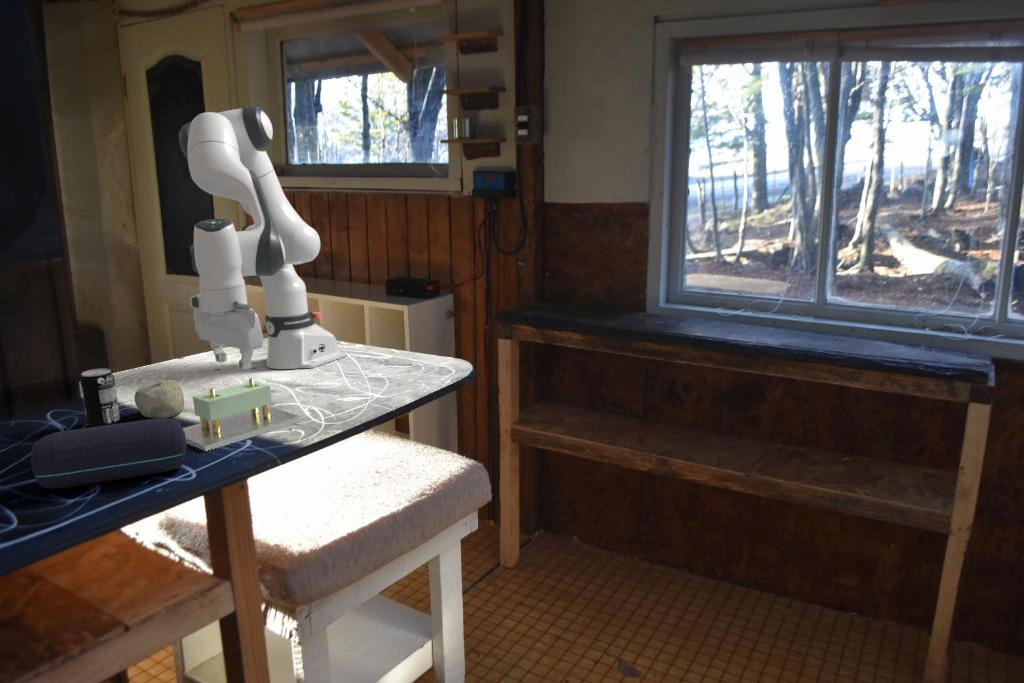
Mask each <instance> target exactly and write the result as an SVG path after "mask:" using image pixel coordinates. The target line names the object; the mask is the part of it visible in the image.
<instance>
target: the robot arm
mask: <svg viewBox="0 0 1024 683" xmlns="http://www.w3.org/2000/svg"><path fill="white" fill-rule="evenodd" d="M273 130H274V129H273V124H272V122H271V120H270V118H269V117H268V115H267V113H266V112H265V111H264V110H263V109H262V108H260V107H259V106H256V105H252V106H251V105H250V106H249V105H248V106H244V107H242V108H236V109H229V110H224V111H220V112H215V111H207V112H203V113H199V114H197V115H196V116H195V117H194V118H193V119H192V121H190V122H187V123H185V124H184V125H183V126H182V127H181V129H180V131H179V132H178V142H179V147H180V149H181V151H182V153H183V155H184V157H185V159H186V160H187V163H188V170H189V174H190V177H191V179H192V181H193V182H194V183H195V185H196V186H198V188H199V189H201V190H202V191H203V192H206V193H208V194H209V195H212V196H215V197H220V198H225V199H229V200H233V201H236V202H239V203H240V205H241V207H242V209H243V210H244V211H245V213H246V214H247V215H248V216H250V217H252V220H253V224H251V225H249V226H247V227H246V228H245V229H244V230H241V231H240V230H239V231H236V229H235V225H234V223H233V221H231V220H229V219H226V218H209V219H205V220H200V221H199V222H198V223H195V225H194V226H193V228H194V229H193V243H192V244H191V245H190V248H189V252H190V256H191V264H192V270H193V271H194V272H195V273H196V274H197V275H199V284H198V290H199V293H197V294H195V295H193V296H191V297H189V304H190V306H191V308H194V309H193V314H192V315H193V320H194V325H195V326H194V327H195V331H196V333H197V337H199V339H200V340H202V341H207V342H209V347H210V348H211V350H212V351H213V354H214V357H215V358H214V360H215V362H216V363H221V364H222V363H225V362H227V360H228V358H227V353H226V352H225V351H224V348H223V346H227V347H231V348H234V349H238V350H239V354H241V359H240V360H238V363H239V368H240V369H242V370H248V369H251V368H252V356H253V354H254V351H255V350H258V349H262V348H263V345H264V335H263V332H262V327H261V323H260V322H261V321H260V319H259V316H258V314H257V313H256V312H255V310H253V308H252V307H251V305H250V304H248V295H247V290H246V288H247V287H246V282H245V279H244V277H251V276H257V277H259V279H260V282H261V286H262V290H263V296H264V303H265V304H264V305H265V312H266V315H265V317H264V318H265V326H266V327H265V328H266V329H265V330H266V333H267V337H268V338H267V340H268V342H267V357H266V358H267V359H266V363H265V366H266V367H267V368H270V369H275V370H291V369H293V370H294V369H295V370H296V369H312V368H313V369H314V368H315V367H319V366H322V365H324V364H327V363H330V362H333V361H336V360H339V359H342V358H344V357H347V355H348V354H347V352H346V350H344V349H341V348H339V347H338V342H337V338H336V337H335V335H334V334H333V333H332V332H330V331H328V330H327V329H325V328H323V327H321V326H320V325H319V324H317V323H316V322H315V320H321V318H322V316H323V314H322V313H321V312H320V311H319V312H318V311H313V312H312V311H310V310H309V308H308V297H307V287H306V283H305V281H304V280H303V279H302V278H301V277H300V276H299V275H298V274H297V272H296V269H295V267H294V266H293V265H301V264H302V265H303V264H306V263H309V262H312V261H314V260H316V258H317V257H318V255H319V254H320V252H321V239H320V236H319V234H318V232H317V230H315V229H314V228H313V227H311V226H310V225H309V224H307V222H305V221H304V220H303V219H302V217H301V216H300V215H299V213H297V211H296V210H295V209H294V207H293V206H292V204H291V203H290V202H289V200H288V198H287V196H286V195H285V192H284V191H283V189H282V188H283V187H282V185H281V183H280V180H279V178H278V176H277V174H276V171H275V169H274V165H273V163H272V161H271V159H270V157H269V155H268V153H267V148H268V147H270V146H271V144H272V142H273V140H274V133H273V132H274V131H273Z"/></svg>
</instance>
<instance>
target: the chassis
mask: <svg viewBox="0 0 1024 683" xmlns="http://www.w3.org/2000/svg"><path fill="white" fill-rule="evenodd" d="M254 381H255V379H254V378H248V382H249V385H250V388H252V387H255V386H254ZM215 391H216V390H215V388H209V392H210V398H215ZM199 418H200V419H199V420H200V423H196V424H192V425H190V426H187V427H182V428H183V431H184V432H185V436H186V443H187V445H188V444H189V446H190V447H193V446H194V447H193V448H195V447H197V448H196V449H198V448H199V450H200V449H201V450H200V451H202V450H204V451H203V452H205V451H207V452H209V451H208V450H210V451H212V450H211V449H213V450H215V448H216V449H218V447H219V448H221V446H222V447H225V446H228V445H231V443H232V444H234V443H238V442H240V441H243V440H247V439H249V438H253V437H256V436H259V435H263V434H266V433H270V432H272V431H274V430H275V431H276V430H279V429H281V428H285V427H288V426H291V425H293V424H298V423H301V421H302V420H301V416H300V415H298V414H294V413H291V412H288V411H285V410H282V409H279V408H276V407H273V406H270V404H268V405H265V406H261V407H258V408H254V409H251V410H248V411H244V412H241V413H237V414H234V415H230V416H227V417H224V418H220V419H217V420H213V421H210V420H207V419H204V418H202V417H199Z"/></svg>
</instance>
